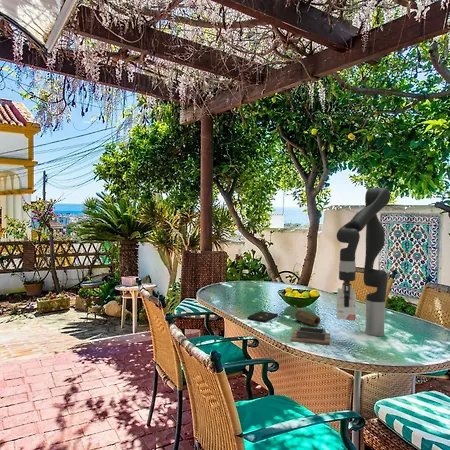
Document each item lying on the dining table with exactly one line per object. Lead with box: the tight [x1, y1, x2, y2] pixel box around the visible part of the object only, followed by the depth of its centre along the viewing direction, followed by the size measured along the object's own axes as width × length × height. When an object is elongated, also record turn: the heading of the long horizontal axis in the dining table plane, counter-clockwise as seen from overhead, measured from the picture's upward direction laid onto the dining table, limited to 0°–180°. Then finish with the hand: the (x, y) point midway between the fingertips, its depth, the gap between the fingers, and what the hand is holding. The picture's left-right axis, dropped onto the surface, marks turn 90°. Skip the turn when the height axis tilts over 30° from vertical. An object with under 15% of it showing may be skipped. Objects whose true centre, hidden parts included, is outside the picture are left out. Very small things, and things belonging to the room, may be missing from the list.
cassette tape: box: [247, 310, 279, 324], centre depth 228 cm, size 18×12×2 cm, turn 149°
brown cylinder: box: [295, 309, 321, 327], centre depth 218 cm, size 15×7×7 cm, turn 37°
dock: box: [290, 326, 331, 346], centre depth 191 cm, size 16×18×4 cm
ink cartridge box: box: [336, 288, 357, 322], centre depth 187 cm, size 9×5×15 cm, turn 68°
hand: (346, 305), depth 187 cm, fingers closed on ink cartridge box, 5 cm apart
